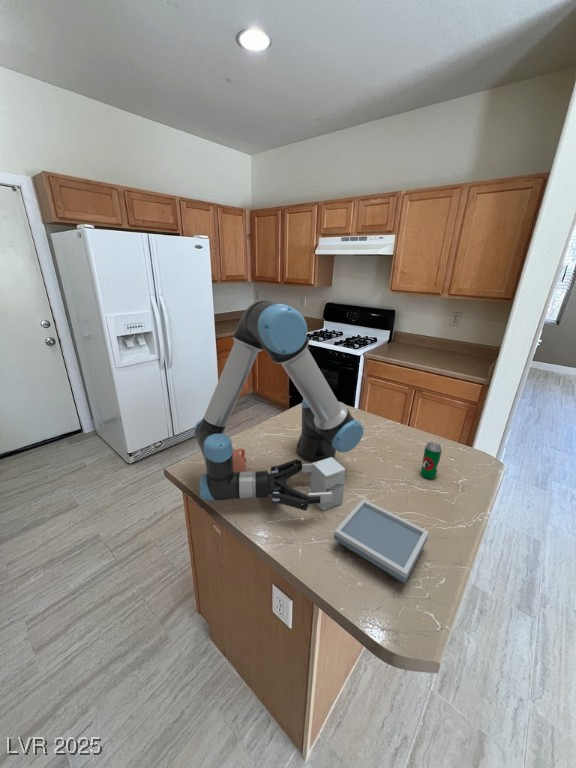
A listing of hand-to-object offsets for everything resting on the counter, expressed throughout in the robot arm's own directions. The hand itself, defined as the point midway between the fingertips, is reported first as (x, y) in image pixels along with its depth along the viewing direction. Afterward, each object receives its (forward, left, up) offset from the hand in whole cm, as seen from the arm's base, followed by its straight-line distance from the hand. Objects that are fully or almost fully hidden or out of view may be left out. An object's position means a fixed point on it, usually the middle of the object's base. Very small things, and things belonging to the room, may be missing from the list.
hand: (326, 481), depth 93 cm
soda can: (+20, +33, -8) cm, 40 cm away
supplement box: (0, 0, -8) cm, 8 cm away
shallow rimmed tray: (+20, -6, -7) cm, 22 cm away
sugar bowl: (-32, -11, -8) cm, 35 cm away
